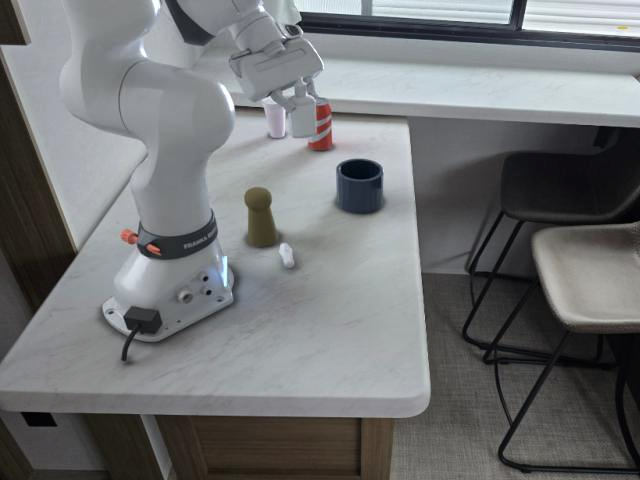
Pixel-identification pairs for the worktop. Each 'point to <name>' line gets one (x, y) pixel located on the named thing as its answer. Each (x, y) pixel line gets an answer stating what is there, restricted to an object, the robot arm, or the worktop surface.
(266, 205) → the olive pawn
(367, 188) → the dark blue round pot
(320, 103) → the beverage can
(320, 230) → the worktop surface
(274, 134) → the smoothie
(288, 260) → the small white plastic part
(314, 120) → the eye dropper bottle
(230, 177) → the worktop surface
